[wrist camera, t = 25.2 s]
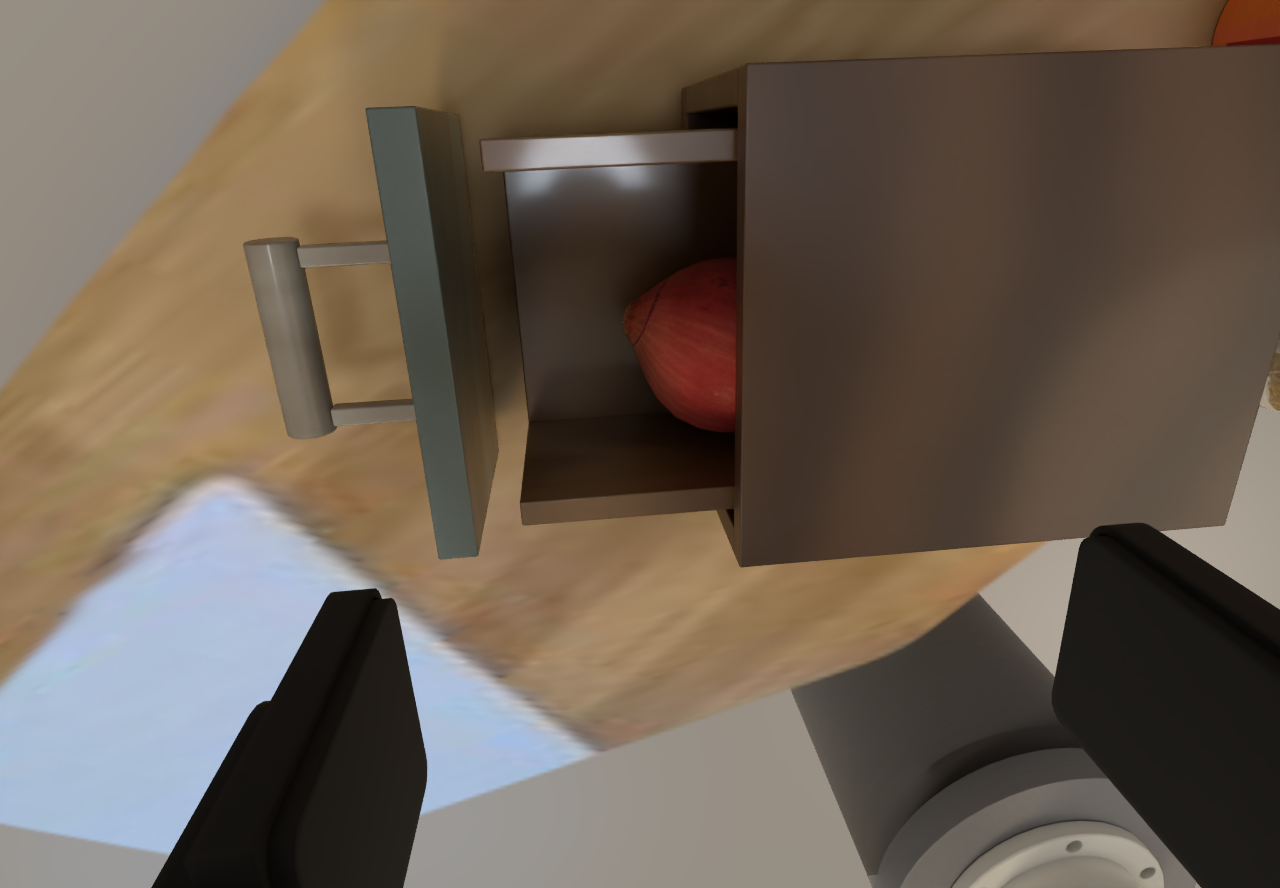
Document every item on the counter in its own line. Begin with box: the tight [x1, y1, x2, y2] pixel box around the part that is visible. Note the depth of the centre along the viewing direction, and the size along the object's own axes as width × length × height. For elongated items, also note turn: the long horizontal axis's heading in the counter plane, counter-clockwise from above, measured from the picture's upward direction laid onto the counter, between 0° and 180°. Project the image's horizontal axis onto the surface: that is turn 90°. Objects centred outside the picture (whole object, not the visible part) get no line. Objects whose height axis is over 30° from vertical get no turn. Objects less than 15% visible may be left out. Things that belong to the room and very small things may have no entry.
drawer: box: [243, 106, 738, 559], centre depth 25 cm, size 19×13×8 cm, turn 92°
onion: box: [622, 257, 737, 432], centre depth 26 cm, size 6×6×8 cm
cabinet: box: [682, 44, 1280, 567], centre depth 26 cm, size 16×14×10 cm
